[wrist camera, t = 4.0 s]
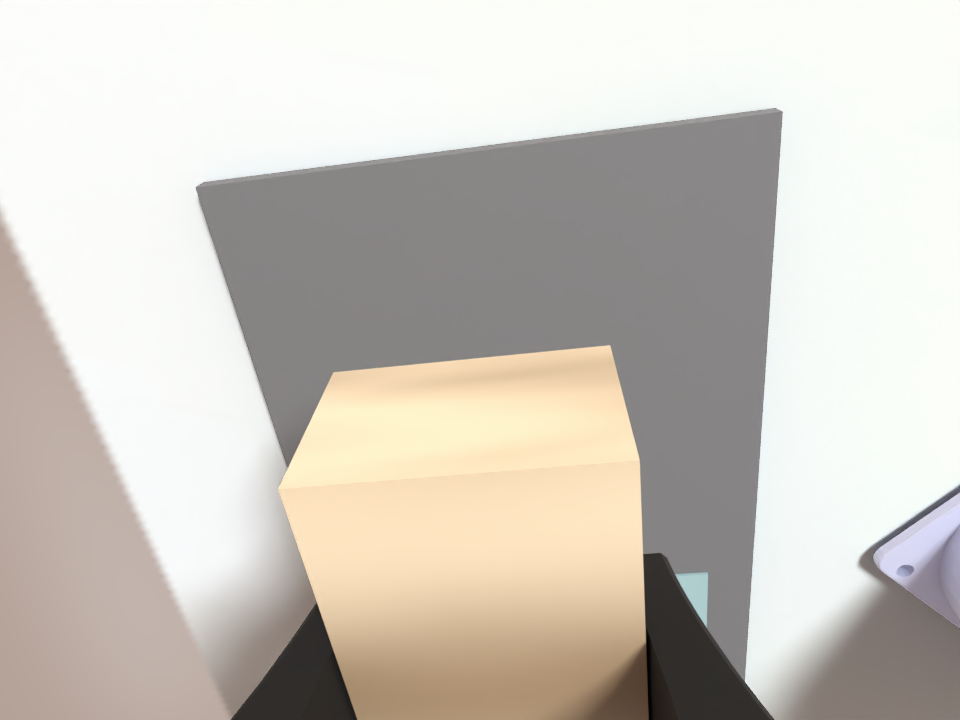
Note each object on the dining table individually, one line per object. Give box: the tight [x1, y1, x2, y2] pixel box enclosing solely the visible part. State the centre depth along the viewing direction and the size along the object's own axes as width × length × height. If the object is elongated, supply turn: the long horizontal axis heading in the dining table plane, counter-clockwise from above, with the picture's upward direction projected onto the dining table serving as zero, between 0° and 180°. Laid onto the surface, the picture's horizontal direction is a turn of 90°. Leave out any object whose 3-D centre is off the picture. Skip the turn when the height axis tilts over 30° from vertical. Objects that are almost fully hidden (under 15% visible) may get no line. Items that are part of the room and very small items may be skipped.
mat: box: [196, 108, 783, 682], centre depth 22 cm, size 24×14×1 cm, turn 8°
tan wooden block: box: [278, 345, 649, 720], centre depth 12 cm, size 9×4×3 cm, turn 8°
